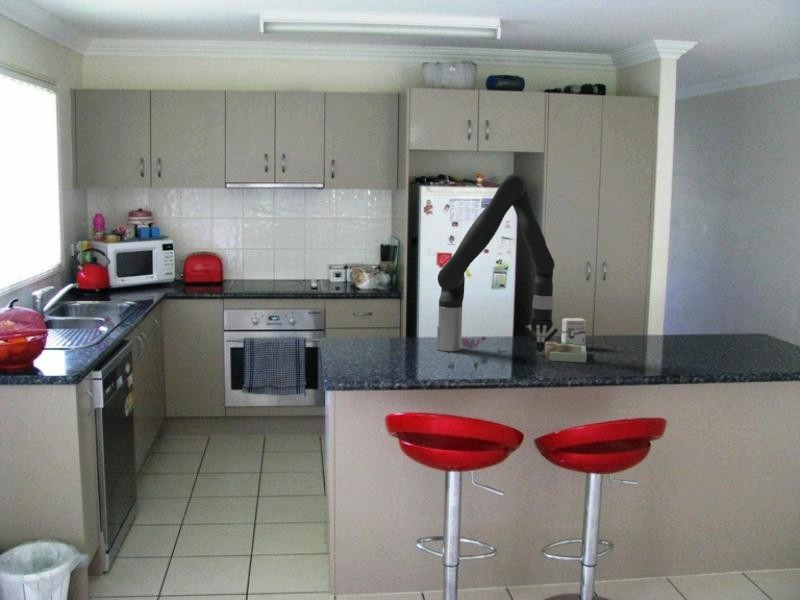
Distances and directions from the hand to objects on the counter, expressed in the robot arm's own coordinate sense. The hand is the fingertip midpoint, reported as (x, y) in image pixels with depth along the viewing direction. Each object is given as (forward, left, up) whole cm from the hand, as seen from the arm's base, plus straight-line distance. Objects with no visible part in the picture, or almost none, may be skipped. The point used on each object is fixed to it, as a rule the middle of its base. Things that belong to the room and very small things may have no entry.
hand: (540, 351), depth 327 cm
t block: (+6, 0, -2) cm, 6 cm away
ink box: (+13, +18, -2) cm, 22 cm away
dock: (+11, 0, -2) cm, 11 cm away
